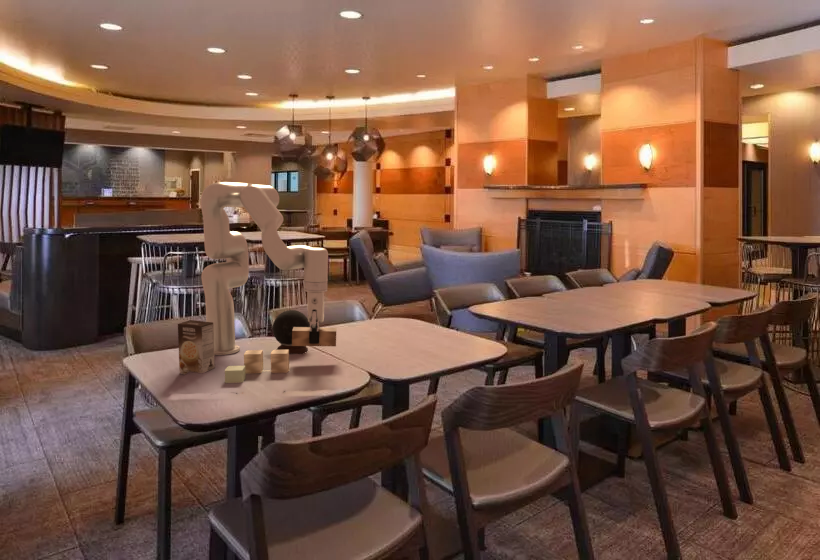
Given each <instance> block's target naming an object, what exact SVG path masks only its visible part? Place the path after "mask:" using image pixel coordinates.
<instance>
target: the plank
mask: <svg viewBox="0 0 820 560" xmlns="http://www.w3.org/2000/svg"><path fill="white" fill-rule="evenodd" d="M309 331H310V327H293V330H292V346H306V347H337V327H320V328H319V344H310V343H309Z"/></svg>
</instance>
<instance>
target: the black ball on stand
mask: <svg viewBox="0 0 820 560" xmlns="http://www.w3.org/2000/svg"><path fill="white" fill-rule="evenodd" d="M293 327H310V322H308V316H306V315H305V314H304V313H303V312H301V311H299V310H297V309H289V310H285V311H282V312H281V313H279V314H278V315H277V316H276V318H274V321H273V324H272V333H273V336H274V339H275V340H276V341H277V342H278V343H279V344H280V345H279V346H277V348H276V349H275V350H289V355H303V353H304V354H306V353H308V352H309V349H308V346H292V330H293ZM307 351H308V352H307ZM305 352H306V353H305Z"/></svg>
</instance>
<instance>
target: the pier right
mask: <svg viewBox="0 0 820 560" xmlns="http://www.w3.org/2000/svg"><path fill="white" fill-rule="evenodd" d="M270 370H271V371H270V372H271V374H282V373H283V374H284V373H285V374H287V373H289V371H288V370H290V354H289V350H276V349H272V351H271V352H270Z"/></svg>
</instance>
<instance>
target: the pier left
mask: <svg viewBox="0 0 820 560" xmlns="http://www.w3.org/2000/svg"><path fill="white" fill-rule="evenodd" d="M243 366H245V374H262V370H264V349H252V350H251V349H250V350H249V349H248V350H245V352H244V354H243Z"/></svg>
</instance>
